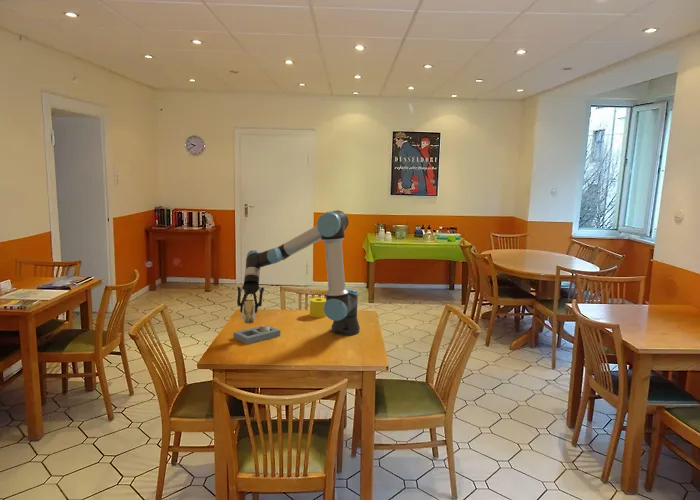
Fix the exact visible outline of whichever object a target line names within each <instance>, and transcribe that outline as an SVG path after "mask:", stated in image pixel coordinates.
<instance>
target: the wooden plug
mask: <svg viewBox="0 0 700 500" xmlns="http://www.w3.org/2000/svg"><path fill="white" fill-rule="evenodd" d="M267 325H268V324H264V325H260V327H259V326H258V327H259V331H261V332H267V331H270V325H268V326H267Z"/></svg>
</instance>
